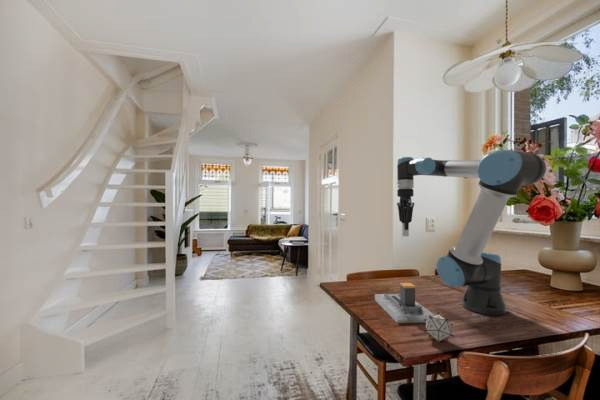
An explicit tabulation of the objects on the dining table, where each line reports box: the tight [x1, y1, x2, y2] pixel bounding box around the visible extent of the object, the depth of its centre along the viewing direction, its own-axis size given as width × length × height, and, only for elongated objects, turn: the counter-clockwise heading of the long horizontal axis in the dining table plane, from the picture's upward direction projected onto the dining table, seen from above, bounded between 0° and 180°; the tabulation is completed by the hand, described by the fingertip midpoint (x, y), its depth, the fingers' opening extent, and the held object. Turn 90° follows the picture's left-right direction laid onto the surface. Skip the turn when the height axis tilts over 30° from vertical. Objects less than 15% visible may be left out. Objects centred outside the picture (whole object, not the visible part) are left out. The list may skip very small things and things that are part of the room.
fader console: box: [374, 292, 435, 324], centre depth 112 cm, size 24×14×4 cm, turn 4°
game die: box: [423, 311, 455, 345], centre depth 87 cm, size 9×8×10 cm
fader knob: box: [399, 282, 416, 306], centre depth 107 cm, size 5×5×9 cm
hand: (405, 236), depth 139 cm, fingers closed
